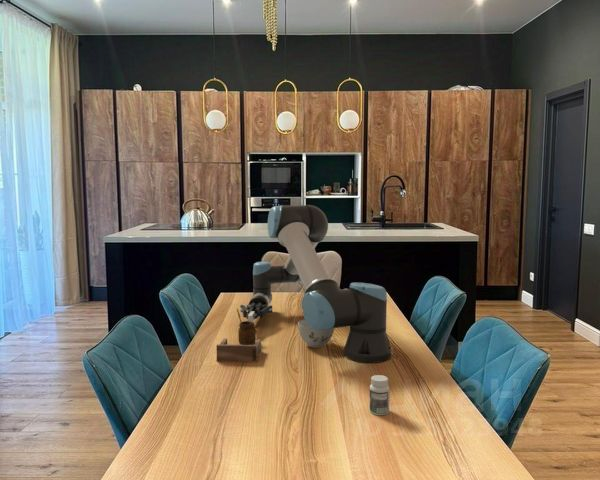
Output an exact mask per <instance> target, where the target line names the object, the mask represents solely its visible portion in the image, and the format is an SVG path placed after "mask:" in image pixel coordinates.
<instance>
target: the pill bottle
mask: <svg viewBox="0 0 600 480" xmlns="http://www.w3.org/2000/svg"><path fill="white" fill-rule="evenodd" d="M370 383H371V384H370V385H369V411H370V413H371V414H373V415H376V416H384V415H388V414H389V412H390V386H389V378H388V376H385V375H383V374H382V375H381V374H376V375H372V376H371V377H370Z"/></svg>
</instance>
